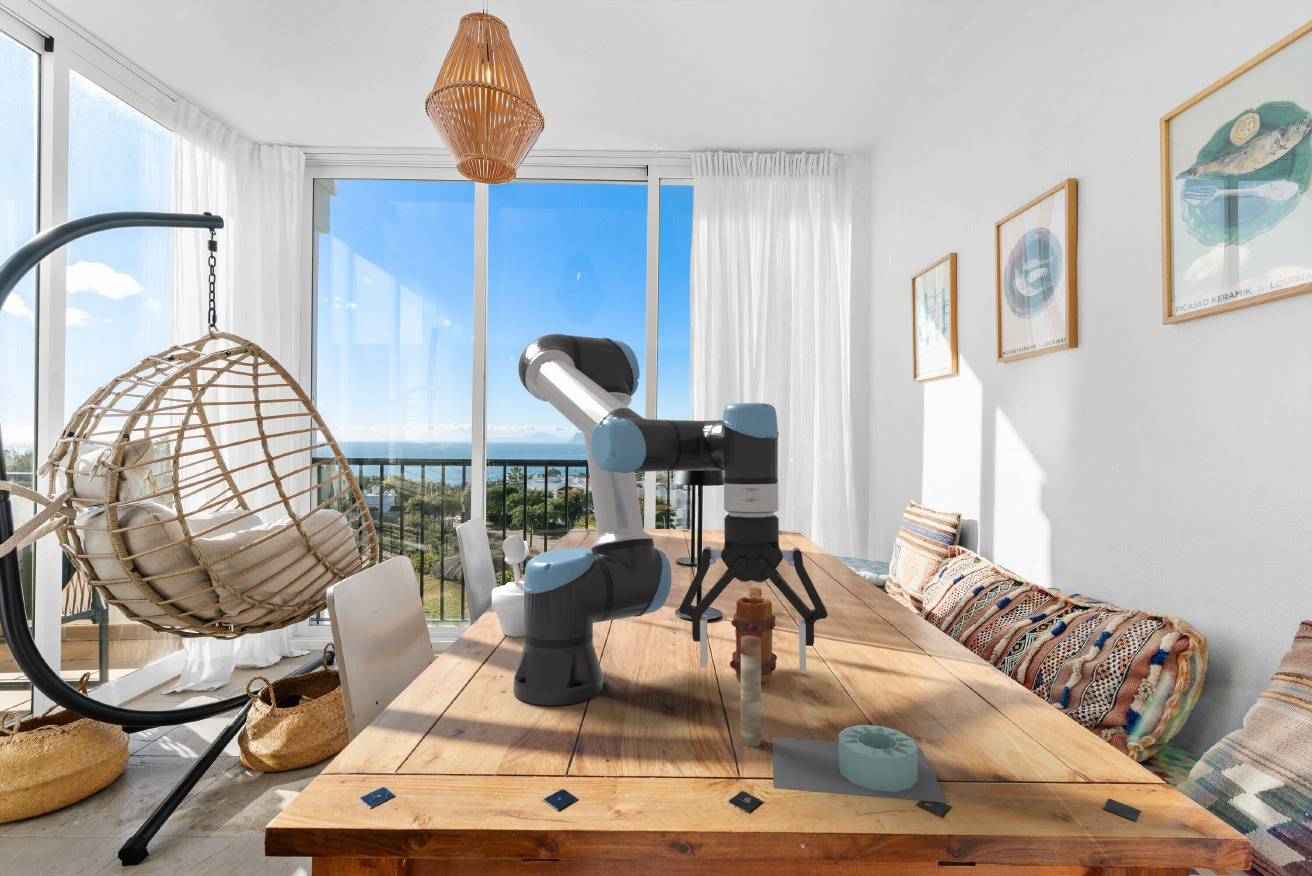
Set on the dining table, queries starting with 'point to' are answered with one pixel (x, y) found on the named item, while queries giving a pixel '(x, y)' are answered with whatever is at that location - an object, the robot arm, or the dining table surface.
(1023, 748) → the dining table surface
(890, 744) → the bead
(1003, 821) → the dining table surface
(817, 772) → the mat
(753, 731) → the dowel
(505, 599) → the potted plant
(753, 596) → the wooden banded keg
